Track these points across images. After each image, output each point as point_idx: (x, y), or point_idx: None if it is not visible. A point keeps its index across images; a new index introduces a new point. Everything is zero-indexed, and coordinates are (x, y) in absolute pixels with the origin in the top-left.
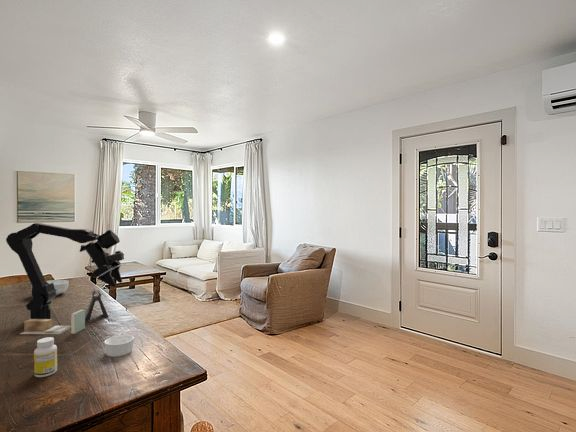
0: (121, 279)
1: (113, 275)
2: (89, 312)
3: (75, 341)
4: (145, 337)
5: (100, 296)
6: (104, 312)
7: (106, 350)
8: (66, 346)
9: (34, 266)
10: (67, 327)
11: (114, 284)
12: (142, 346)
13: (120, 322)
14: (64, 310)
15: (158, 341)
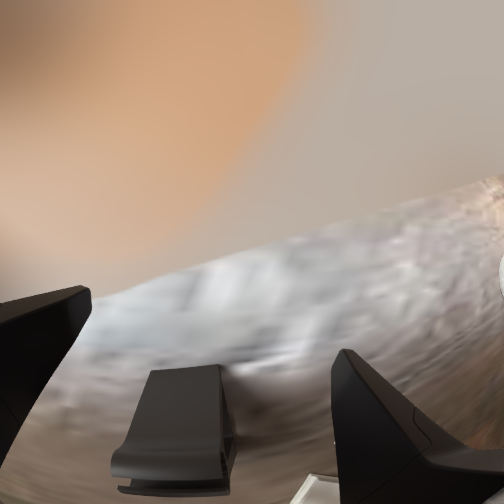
0: (67, 292)
1: (18, 395)
2: (233, 455)
3: (437, 413)
4: (464, 217)
5: (219, 449)
6: (220, 389)
7: None
8: (456, 419)
9: None
10: (335, 483)
11: (365, 366)
12: (498, 229)
13: (307, 305)
14: (55, 489)
15: (481, 192)
